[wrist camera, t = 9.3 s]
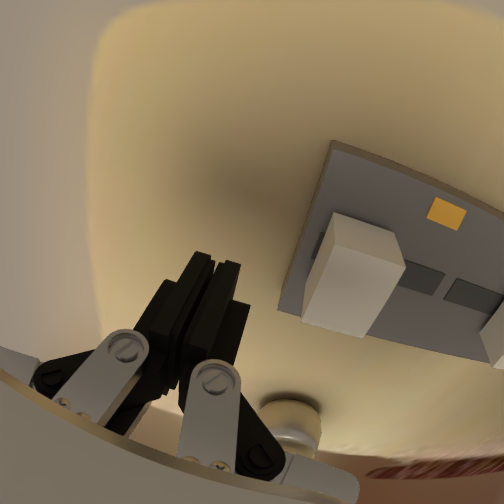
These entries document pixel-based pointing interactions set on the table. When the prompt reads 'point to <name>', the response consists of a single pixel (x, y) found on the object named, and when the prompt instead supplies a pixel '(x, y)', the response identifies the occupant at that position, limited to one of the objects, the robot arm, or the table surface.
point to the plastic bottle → (293, 425)
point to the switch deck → (412, 251)
